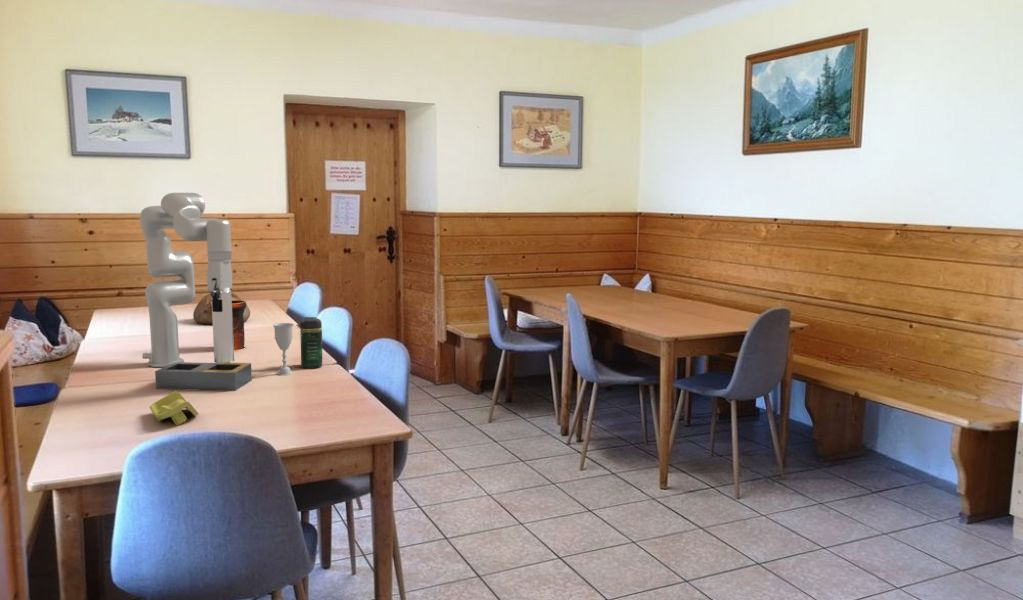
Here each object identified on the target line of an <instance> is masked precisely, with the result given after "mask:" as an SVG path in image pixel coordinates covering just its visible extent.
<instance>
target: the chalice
mask: <svg viewBox="0 0 1023 600" xmlns="http://www.w3.org/2000/svg"><path fill="white" fill-rule="evenodd" d="M272 326H273V328H274V340H275V342H276V344H277V346H278V348H279V350H280V351H282V354H281V356H282V360H281V361H282V363H283V365H282V366H281V367H280V368H279V370H278V373H277V375H278V374H279V375H278V376H290V375H292V374H293V372H292V370H291V368H290V366H287V362H288V360H287V352H286V351H287V350H288V349H289V347H290V345H291V344H292V341H293V337H294V336H293V326H294V323H289V322H279V323H273V324H272ZM289 374H290V375H289Z"/></svg>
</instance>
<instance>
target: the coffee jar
mask: <svg viewBox="0 0 1023 600" xmlns="http://www.w3.org/2000/svg"><path fill="white" fill-rule="evenodd" d="M299 322H300V325H299V327H300V359H301V360H300V364H301V365H300V366H301V367H302V368H303V369H306V368H307V369H316V368H321V367H322V366H323V330H322V329H323V327H322V321H321V319H319V318H317V317H316V316H306V317H305V318H302V319H301V320H300V321H299Z"/></svg>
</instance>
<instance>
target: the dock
mask: <svg viewBox="0 0 1023 600" xmlns="http://www.w3.org/2000/svg"><path fill="white" fill-rule="evenodd" d="M154 373H155V374H154V375H155V389H156V390H187V389H197V390H198V389H199V390H198V391H201V390H202V391H237V390H239V389H240V388H242V387H244V386H245V385H247V384H248V383H250V382H252V380H253V379H252V363H251V362H229V363H216V362H191V361H190V362H187V361H184V362H175V363H172V364H170V365H168V366H166V367H160V368H159V369H157V370H155V371H154ZM197 390H196V391H197Z"/></svg>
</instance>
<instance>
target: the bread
mask: <svg viewBox="0 0 1023 600" xmlns="http://www.w3.org/2000/svg"><path fill="white" fill-rule="evenodd" d="M231 296H232V300H239V301H245V300H244V299H243V298H242V297H241V296H239V295H237V294H235V293H233V292H231ZM211 302H212V300H211V293H209V294H206V295H204V296H203V297H202V299H201V300H200V301H199V302H198V303H197V305H196V306H195V308H194V310H193V313H192V314H193V315H192V316H193V317H192V318H193V321H194V322H196V323H197V324H201V325H202V324H205V325H206V324H207V325H213V321H212V309H211V308H210V303H211ZM243 317H244V323H246V322H247V321H248V319H249V318H250V317H251V309H250V307H249V306H248V304H247V303H246V308H245V310H244V313H243Z"/></svg>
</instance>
